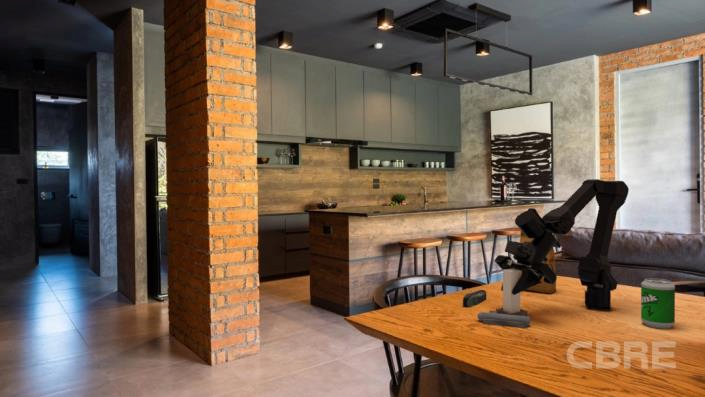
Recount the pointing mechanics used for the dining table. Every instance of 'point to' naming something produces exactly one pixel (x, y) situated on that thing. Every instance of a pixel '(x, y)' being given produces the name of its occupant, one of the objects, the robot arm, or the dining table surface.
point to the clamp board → (507, 323)
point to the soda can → (658, 303)
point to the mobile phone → (474, 298)
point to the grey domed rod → (504, 317)
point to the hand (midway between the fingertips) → (507, 292)
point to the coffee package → (544, 286)
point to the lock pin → (510, 291)
